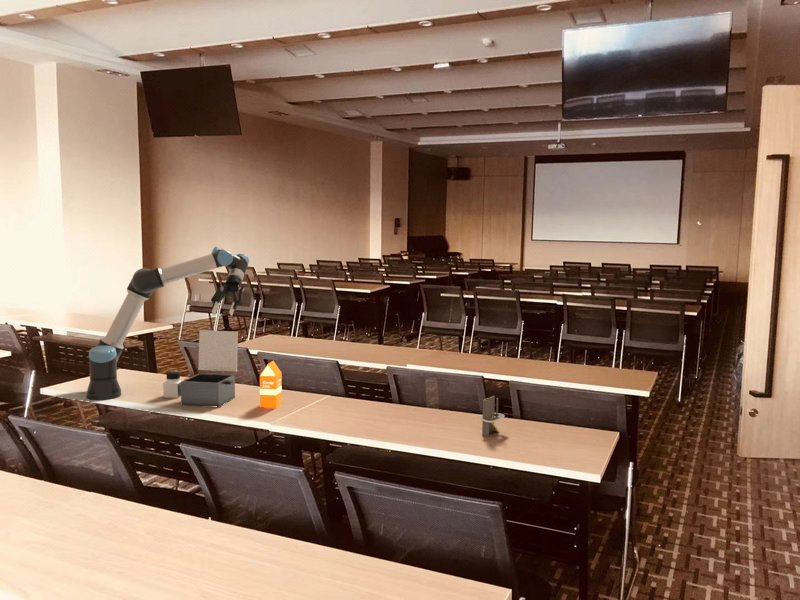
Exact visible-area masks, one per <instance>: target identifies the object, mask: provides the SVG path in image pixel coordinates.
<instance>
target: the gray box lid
mask: <svg viewBox="0 0 800 600" xmlns="http://www.w3.org/2000/svg"><path fill="white" fill-rule="evenodd" d="M198 334H199V335H198V371H211V372H210V374H222V375H225V372H234V373H235V372H238V345H239V344H238V343H239V342H238V339H239V331H232V330H231V331H230V330H229V331H228V330H208V329H207V330H206V329H202V330H201V329H200V330H199V333H198Z"/></svg>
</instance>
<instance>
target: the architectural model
mask: <svg viewBox="0 0 800 600" xmlns="http://www.w3.org/2000/svg"><path fill="white" fill-rule="evenodd" d="M495 400H496V402H495ZM495 404H496V405H495ZM495 406H496V407H495ZM495 408H496V409H495ZM478 419H479V420H481V421H482V424H481V425H482V427H481V429H482V430H481V436H482V437H487V438H489V437H490V433H492V432H498V433H500V431H499V429H498V428H497V426H496V425H495V422H497V421H498V422H499V421H500V420H502V419H505V414H504V413H499V398H498V397H497V398H496V396H495V395H493V396H490V397H487V398H484V399H483V400H482V416H479V417H478Z"/></svg>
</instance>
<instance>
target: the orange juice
mask: <svg viewBox="0 0 800 600" xmlns="http://www.w3.org/2000/svg"><path fill="white" fill-rule="evenodd" d="M282 374H283V373H282V371H281V370H280V368H279V367H278V365H277V364H276V363H275V360H272V361H270V362H269V363H268V364H267V365H266V366H265V368H264V369H263V370H262V372H261V373H260V375H259V408H261V407H264V408H265V409H277V408H278V407H279V406H281V403H282V402H283V399H282V398H283V395H282V393H283V391H282V389H283V388H282V378H283V376H282ZM264 408H263V409H264ZM261 409H262V408H261Z"/></svg>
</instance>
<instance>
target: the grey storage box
mask: <svg viewBox="0 0 800 600" xmlns="http://www.w3.org/2000/svg"><path fill="white" fill-rule="evenodd" d="M235 375H236V374H221V373H197V374H195V375H193V376H190V377H188V378H184V379H182V380H183V381H181V396H180V399H181V400H180V405H181V406H182V407H183V406H185V407H201V406H217V407H216V408H220V407H222V406H223V404H224V403H225V404H227V403H229V402H230V401H232V400H234V399H236V376H235ZM233 398H234V399H233ZM231 399H232V400H231ZM229 400H230V401H229ZM228 401H229V402H228ZM226 402H227V403H226ZM225 404H224V405H225ZM221 405H222V406H221ZM219 406H220V407H219Z"/></svg>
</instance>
